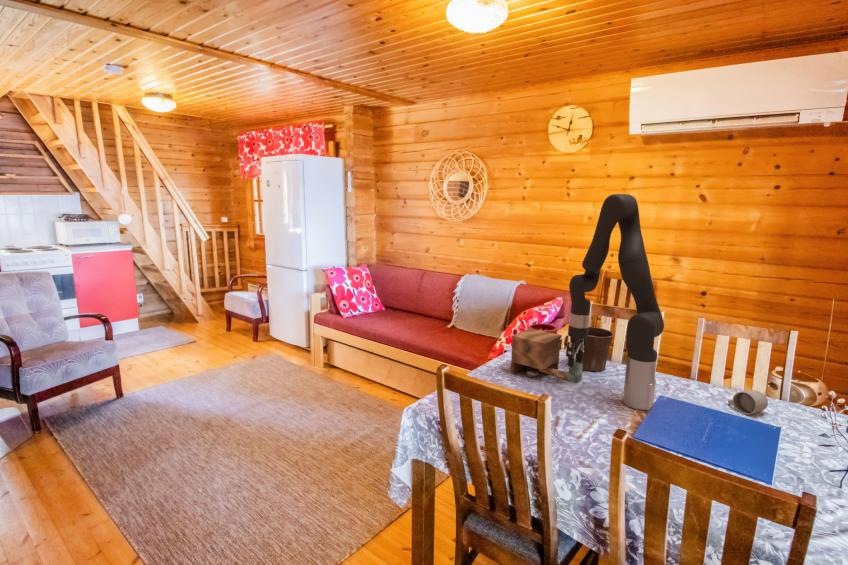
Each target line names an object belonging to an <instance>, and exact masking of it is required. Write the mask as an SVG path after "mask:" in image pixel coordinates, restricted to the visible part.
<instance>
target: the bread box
mask: <svg viewBox="0 0 848 565" xmlns="http://www.w3.org/2000/svg"><path fill="white" fill-rule="evenodd" d="M544 331H545V330H544ZM544 331H539V330H535V329H529V328H527V329H525V330H523V331H521V332H517V333H515V334H513V335H511V339H512V342H511V361H510V374H512V375H513V374H515V373H517V372H519V371H521V370H522V369H525V368H527V367H529V366H530V367H533V368H537V369H541V370H544V369H545V368H547V367H549V368H553V369H557V370H559V363H560V362H559V361H560V351H561V339H562V336H563V335H562V334H558V333H557V334H554V333H549V332H544Z"/></svg>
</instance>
